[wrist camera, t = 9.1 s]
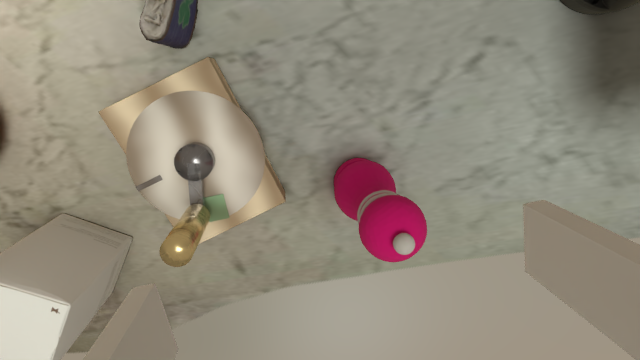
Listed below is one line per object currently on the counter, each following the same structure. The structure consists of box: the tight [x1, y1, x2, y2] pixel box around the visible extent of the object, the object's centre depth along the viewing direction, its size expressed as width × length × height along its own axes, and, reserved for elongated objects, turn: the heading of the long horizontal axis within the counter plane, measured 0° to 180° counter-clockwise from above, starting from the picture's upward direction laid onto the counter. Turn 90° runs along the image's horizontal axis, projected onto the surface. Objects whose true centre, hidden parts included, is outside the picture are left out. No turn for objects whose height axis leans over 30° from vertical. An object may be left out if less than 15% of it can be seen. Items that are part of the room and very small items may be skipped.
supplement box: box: [0, 213, 132, 360], centre depth 41 cm, size 9×9×15 cm
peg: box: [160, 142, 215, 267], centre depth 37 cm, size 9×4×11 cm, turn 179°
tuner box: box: [99, 57, 286, 244], centre depth 44 cm, size 15×18×4 cm
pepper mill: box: [334, 158, 427, 262], centre depth 39 cm, size 7×7×20 cm
